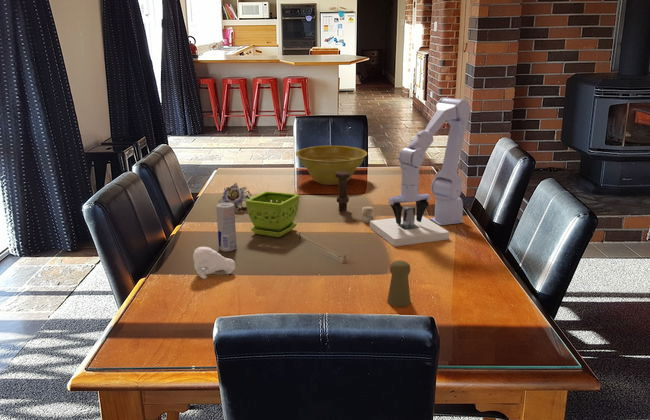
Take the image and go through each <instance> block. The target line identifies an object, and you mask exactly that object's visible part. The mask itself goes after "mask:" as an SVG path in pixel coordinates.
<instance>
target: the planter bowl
mask: <svg viewBox="0 0 650 420" xmlns="http://www.w3.org/2000/svg"><path fill="white" fill-rule="evenodd" d="M295 155H296V156H297V157H298V160H299V162H300V164H301V165H302V166H303V167H304V168H306V170H307V172H308V173H309V175H310V176H311V179H312V180H313V181H315V182H316V183H318V184H321V185H329V186H330V185H331V186H334V185H335V186H336V185H339V181H338V178H336V172H339V171H346V172H349V173H350V177H349V178H347V182H348V181H349V180H351V178H352V177H353V175H354V174H355V172H356V169H358V167H360V166H362V163H363V162H364V159H365V157H367V156H368V152H367V151H366V150H365V149H362V148H360V147H359V148H358V147H355V146H346V145H316V146H309V147H308V146H307V147H305V148H301V149H299V150H297V151H296V152H295Z"/></svg>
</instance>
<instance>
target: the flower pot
mask: <svg viewBox="0 0 650 420" xmlns="http://www.w3.org/2000/svg"><path fill="white" fill-rule="evenodd" d="M299 200H300V195H299V194H297V193H289V192H287V193H286V192H279V191H278V192H277V191H263V192H261V193H258V194H256V195H255V196H252V197H250V199H248V200H247V201H245V205H246V211H247V214H248V218H249V219H250V221H251V223H252V225H253V227H251V228H250V230H251V232H252V233H254V234H255V235H259V236H262V235H263V236H268V237H273V238H274V237H275V238H280V237H283V236H284V235H286V234H288V233H289V232H291V231H292V230H294V228H296V227H297V222H294V221H295V219H296V217H297V214H298V209H299V203H300V201H299Z"/></svg>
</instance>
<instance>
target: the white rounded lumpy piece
mask: <svg viewBox="0 0 650 420" xmlns="http://www.w3.org/2000/svg"><path fill="white" fill-rule="evenodd" d="M192 258H193V263H194V269H195V271H196V273H197V275H198V276H199V277H200V278H201V279H203V280H206V279H207V275H210V274H212V273H214V272H218V271H224V272H225V274H226V276H228V275H229V274H232V273H233V271H234V270H235V269H236V262H235V260H234V259H232V258H227V257H224V256H222V254H221V253H218V251H216V250H214V249H213V248H211V247H210V246H209V247H208V246H199V247H197V248H195V249H194V252H193V254H192Z"/></svg>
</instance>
